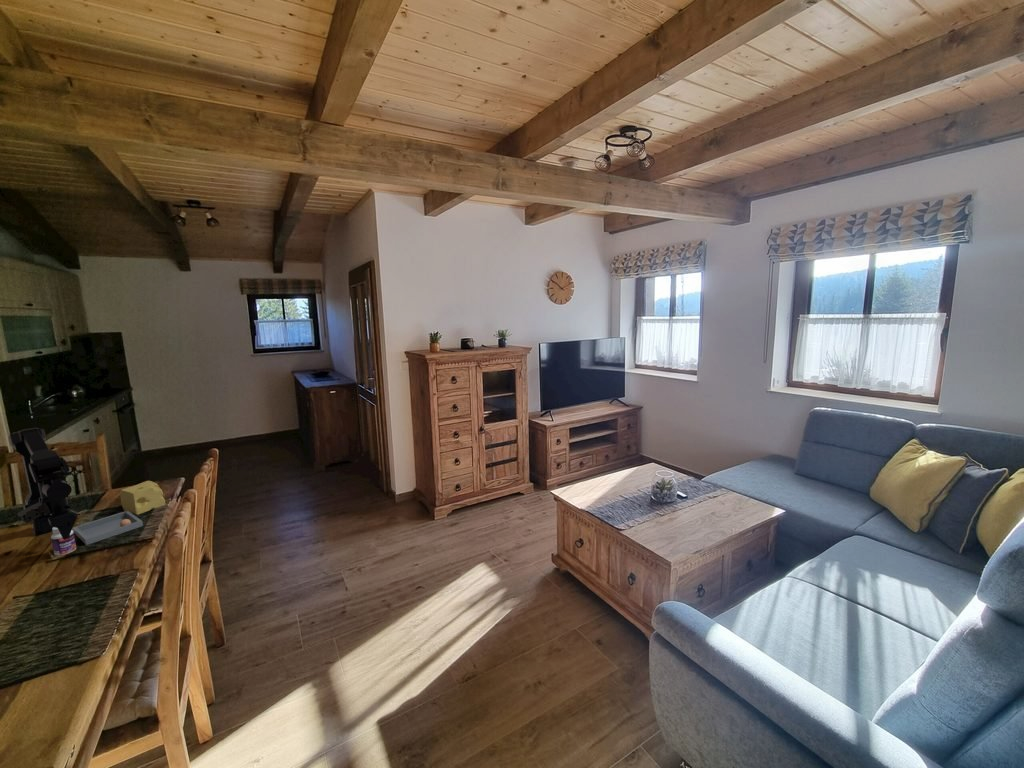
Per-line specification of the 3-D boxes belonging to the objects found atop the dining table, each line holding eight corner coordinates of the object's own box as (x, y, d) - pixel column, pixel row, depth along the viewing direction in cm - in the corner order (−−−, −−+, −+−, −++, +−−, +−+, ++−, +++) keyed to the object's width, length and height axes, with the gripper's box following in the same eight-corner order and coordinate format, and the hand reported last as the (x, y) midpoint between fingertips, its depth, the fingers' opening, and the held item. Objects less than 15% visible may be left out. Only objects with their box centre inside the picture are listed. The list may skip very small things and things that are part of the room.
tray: (73, 534, 161) (72, 527, 161) (128, 516, 174) (127, 510, 174) (86, 546, 152) (85, 539, 152) (143, 527, 165) (142, 520, 165)
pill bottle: (62, 557, 146) (56, 531, 144) (50, 556, 147) (44, 529, 145) (81, 549, 151) (75, 523, 149) (69, 547, 152) (63, 521, 150)
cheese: (166, 505, 183) (162, 483, 182) (135, 517, 174) (131, 493, 172) (152, 501, 188) (148, 479, 186) (122, 512, 178) (117, 489, 176)
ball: (119, 528, 164) (117, 520, 163) (129, 524, 166) (128, 516, 166) (122, 530, 162) (120, 522, 161) (132, 526, 165) (131, 518, 164)
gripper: (11, 495, 143) (21, 538, 146) (23, 509, 133) (34, 555, 136) (58, 483, 152) (67, 524, 155) (73, 495, 142) (82, 539, 145)
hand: (62, 535), depth 148 cm, fingers open, 9 cm apart
